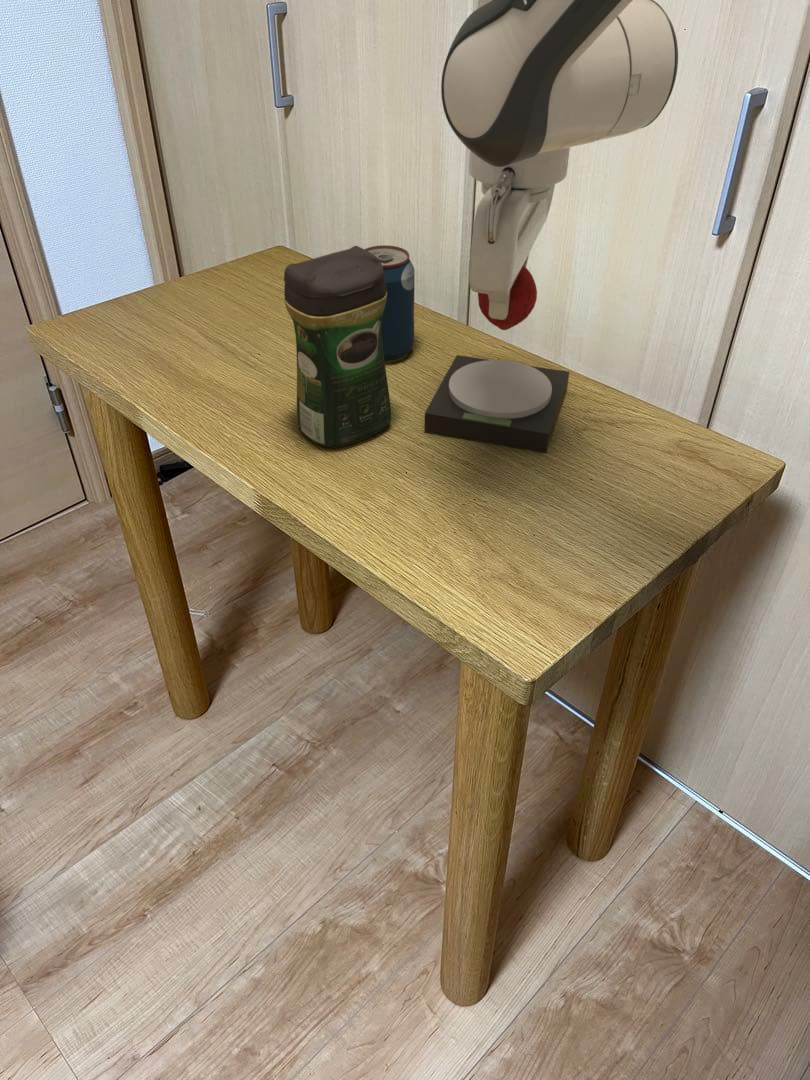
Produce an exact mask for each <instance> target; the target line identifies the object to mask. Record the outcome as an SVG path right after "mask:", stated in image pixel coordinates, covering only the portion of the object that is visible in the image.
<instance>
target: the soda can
mask: <svg viewBox="0 0 810 1080" xmlns="http://www.w3.org/2000/svg"><path fill="white" fill-rule="evenodd" d="M364 249H365V250H367V251H368V252H370V253H372V254H373V255H375V256H376V257H378V258H379V259H380V261H381V264H382V266H383V270H384V274H385V276H384V277H385V282H386V289H387V300H386V304H385V308H384V312H383V317H382V342H383V353H384V361H385V364H387V363H388V364H389V363H395V362H399V361H402V360H404V359H405V358H406V357H407V356H408V355H409V353H410V352H411V350H412V348H413V347H414V344H415V267H414V265H413V263H412V261H411V259H410V253H409V251H408V250H406V249H405V248H402V247H400V246H395V245H387V244H386V245H384V244H383V245H373V246H369V247H366V248H364Z"/></svg>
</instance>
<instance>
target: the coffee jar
mask: <svg viewBox="0 0 810 1080" xmlns="http://www.w3.org/2000/svg"><path fill="white" fill-rule="evenodd" d="M365 249H366V248H362V247H360V246H358V245H353V246H352V247H350V248H347V249H343V250H340V251H339V250H338V251H335V252H331V253H328V254H325V255H321V256H318V257H314V258H311V259H308V260H304V261H301V262H297V263H290V264H288V265H286V267H285V269H284V273H283V275H284V276H283V282H284V295H283V296H284V298H283V299H284V300H283V301H284V305H285V308H286V311H287V313H288V315H289V317H290V318H291V320H292V323H293V327H294V335H295V344H296V345H295V346H296V416H297V417H296V418H297V425H298V428H299V429H300V431H301V432H302V433H303V434H304V436H305V437H306V438H307V439H309V441H311V442H312V443H315V444H317V445H320V446H322V447H328V448H332V449H336V448H342V447H345V446H349V445H351V444H354V443H358V442H360V441H362V440H365V439H368V438H369V437H372V436H374V435H376V434H378V433H380V432H382V431H383V430H384V429H386V428H387V427H388V426H389V424H390V423H391V420H392V407H391V397H390V391H389V390H390V389H389V384H388V377H387V371H386V370H387V369H386V363H385V361H384V353H383V342H382V317H383V312H384V308H385V304H386V300H387V289H386V282H385V277H384V276H385V274H384V270H383V266H382V264H381V261H380V259H379V258H378V257H376V256H375V255H373V254H372V253H370V252H368V251H367V250H365Z"/></svg>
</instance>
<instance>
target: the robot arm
mask: <svg viewBox="0 0 810 1080" xmlns="http://www.w3.org/2000/svg"><path fill="white" fill-rule="evenodd" d="M678 66H679V46H678V39H677V35H676V32H675V28H674V25H673V23H672V21H671V19H670V18H669V15H668V13H667V12H666V11H665V10H664V9H663V7H662V6H661V5H660V4H659V3H658V2H657V1H655V0H477V7H476V9H475V10H473V12H472V13H470V14H469V15H468V16H467V17H466V19H465V20H464V21H463V23H462V25H461V26H460V28H459V30H458V31H457V33H456V35H455V37H454V39H453V41H452V43H451V44H450V47H449V49H448V52H447V55H446V58H445V62H444V64H443V69H442V72H441V73H442V75H441V82H440V83H441V84H440V85H441V86H440V89H441V90H440V92H441V93H440V94H441V102H442V108H443V113H444V115H445V118H446V120H447V123H448V125H449V126H450V128H451V131H453V133H454V134H455V136H456V137H457V138H458V140H459V141H460V142H461V143H462V144H463V145H464V146H465V147H466V148H467V150H469V155H468V156H469V157H468V173H469V175H470V176H471V177H472V178H473V179H474V180H476V181H478V182H480V183H481V193H482V195H483V196H482V198H481V199H480V201H479V202H478V205H477V207H476V211H475V214H474V219H473V220H474V221H473V228H472V236H471V247H470V259H469V270H468V271H469V273H468V283H469V287H470V290H471V291H472V292H474V293H477V294H478V293H483V294H488V298H489V316H490V317H491V318H493V319H500V320H504V319H506V317H507V315H508V313H509V311H510V303H511V297H510V290H511V288H512V286H513V284H514V282H515V280H516V278H517V276H518V274H519V272H520V270H521V268H522V266H523V265H524V266H525V267H526V268H527V267H528V263H529V258H530V255H531V250H532V248H533V246H534V244H535V243H536V241H537V239H538V237H539V236H540V233H541V231H542V229H543V227H544V225H545V223H546V222H547V218H548V216H549V213H550V209H551V205H552V201H553V195H554V191H555V187H556V184H558V183H561V182H563V180H565V179H566V177H567V176H568V170H569V169H568V167H569V160H570V151H571V148H573V147H577V146H582V145H587V144H593V143H594V142H595V143H596V142H599V141H602V140H607V139H612V138H615V137H619V136H624V135H629V134H631V133H633V132H636V131H638V130H640V129H643V128H646V127H649V126H650V125H651V124H652V123H653V122H655V120H657V118H658V117H659V116H660V115H661V113H662V112H663V110H664V109H665V107H666V105H667V104H668V102H669V100H670V97H671V95H672V92H673V90H674V87H675V85H676V84H675V83H676V80H677V74H678V69H679V68H678Z"/></svg>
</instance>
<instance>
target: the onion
mask: <svg viewBox="0 0 810 1080" xmlns="http://www.w3.org/2000/svg"><path fill="white" fill-rule="evenodd" d="M537 289H538V288H537V285H536V282H535V279H534V276H533V274H532V273H531V271H530V270H529V269H528V268H527V266H526V267H525V266H524V265H523V266H522V268H521V270H520V272H519V274H518V276H517V278H516V280H515V282H514V284H513V286H512V288H511V290H510V297H511V303H510V311H509V313H508V315H507V317H506V319H504V320H500V319H493V318H491V317H490V316H489V298H488V294H483V293H477V298H478V300H477V301H478V307H479V310H480V311H481V313H482V315H483V316H484V317H485V318H486V320H487V321H488V322H489V323H491V324H492V325H493V326H495V327H497V328H498V329H499V330H502V331H506V330H510V329H511V328H514V327H515V326H517V325H519V324H521V323H522V322H523V321H525V320H526V319H527V318H528V317H529V315H531V313H532V312H533V309H534V308H535V306H536V303H537V300H538V299H537V298H538V290H537Z"/></svg>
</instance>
